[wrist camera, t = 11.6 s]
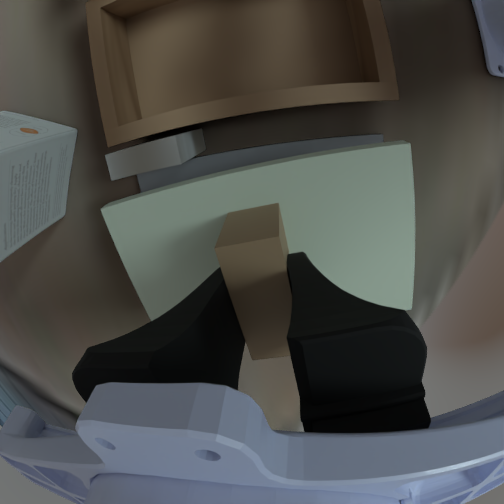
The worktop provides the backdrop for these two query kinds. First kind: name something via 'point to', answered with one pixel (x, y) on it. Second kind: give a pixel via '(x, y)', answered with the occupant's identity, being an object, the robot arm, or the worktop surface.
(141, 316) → the worktop surface
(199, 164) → the mat
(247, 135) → the worktop surface
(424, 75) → the worktop surface
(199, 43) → the open brown box
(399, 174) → the mint green slab
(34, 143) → the small box
